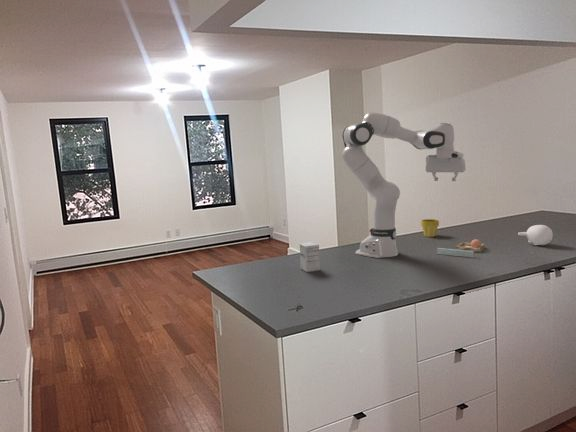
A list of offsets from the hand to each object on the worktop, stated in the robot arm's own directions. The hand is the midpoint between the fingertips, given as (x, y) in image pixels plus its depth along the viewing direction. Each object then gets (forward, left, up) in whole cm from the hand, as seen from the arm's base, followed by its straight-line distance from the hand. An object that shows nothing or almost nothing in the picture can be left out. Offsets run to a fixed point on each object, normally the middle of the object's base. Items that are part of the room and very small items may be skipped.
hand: (445, 180), depth 253 cm
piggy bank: (+40, +32, -37) cm, 63 cm away
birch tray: (+12, +6, -37) cm, 39 cm away
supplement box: (-43, -67, -37) cm, 88 cm away
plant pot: (-19, +31, -37) cm, 52 cm away
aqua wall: (+9, -11, -37) cm, 40 cm away
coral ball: (+15, +6, -34) cm, 38 cm away
